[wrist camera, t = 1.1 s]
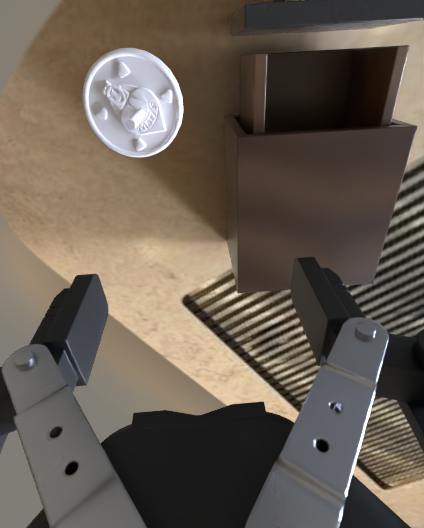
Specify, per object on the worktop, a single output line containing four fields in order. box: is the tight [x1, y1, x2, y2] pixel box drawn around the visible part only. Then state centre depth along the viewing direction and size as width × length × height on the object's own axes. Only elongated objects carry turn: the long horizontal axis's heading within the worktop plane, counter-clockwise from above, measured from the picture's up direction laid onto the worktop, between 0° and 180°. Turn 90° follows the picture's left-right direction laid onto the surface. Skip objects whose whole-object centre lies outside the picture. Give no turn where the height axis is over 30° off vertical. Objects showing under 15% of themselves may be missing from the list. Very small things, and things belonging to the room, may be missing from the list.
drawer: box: [231, 0, 424, 134], centre depth 24 cm, size 17×11×8 cm
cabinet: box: [224, 115, 417, 293], centre depth 30 cm, size 14×13×10 cm
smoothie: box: [82, 48, 183, 157], centre depth 22 cm, size 6×6×14 cm
